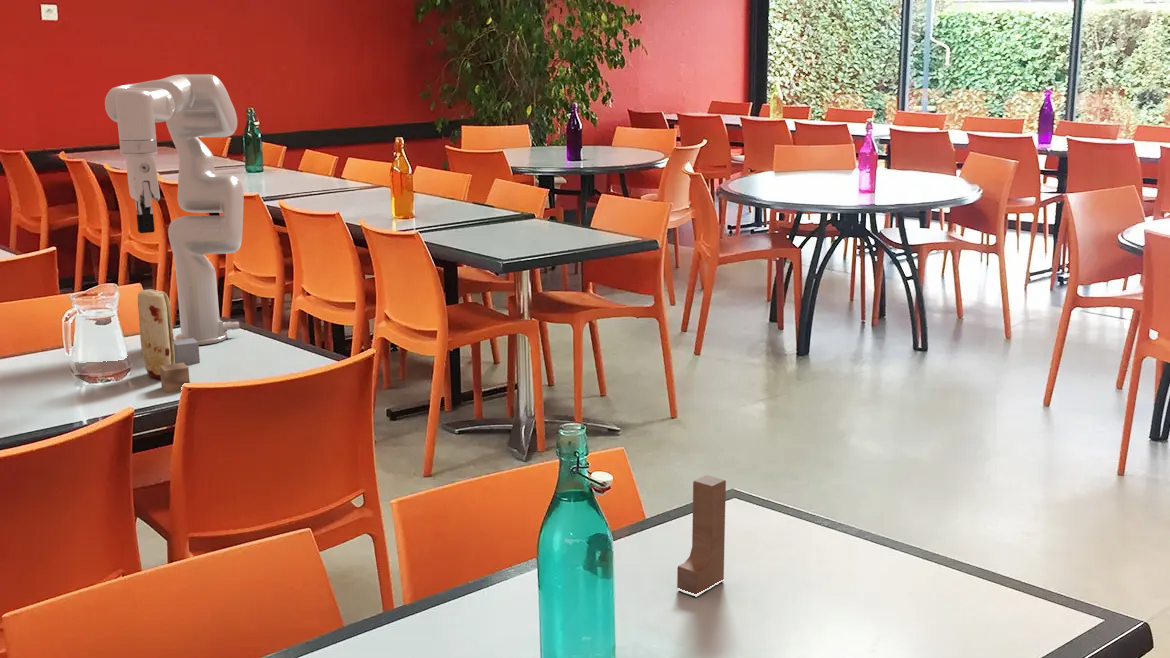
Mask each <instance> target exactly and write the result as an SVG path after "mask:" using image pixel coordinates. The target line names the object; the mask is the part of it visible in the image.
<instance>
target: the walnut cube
mask: <svg viewBox="0 0 1170 658" xmlns="http://www.w3.org/2000/svg"><path fill="white" fill-rule="evenodd" d="M160 374H161V379H160V383H161V388H162V389H163V390H164V392H165V393H166V394H169V393H175V392H181V391H180V390H181V387H182V385H183V384H184V383H190V384H191V381H190V369H189V367H188V366H187V364H186V365H185V364H184V363H177V364H176V363H175V364H169V365H162V366H160Z"/></svg>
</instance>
